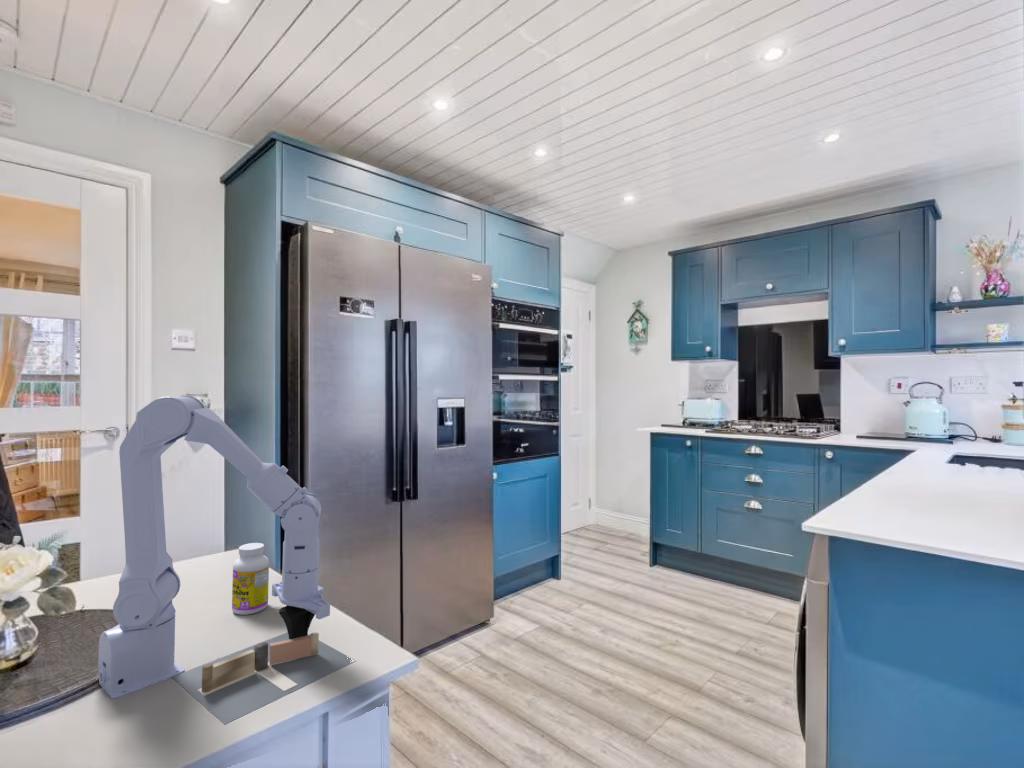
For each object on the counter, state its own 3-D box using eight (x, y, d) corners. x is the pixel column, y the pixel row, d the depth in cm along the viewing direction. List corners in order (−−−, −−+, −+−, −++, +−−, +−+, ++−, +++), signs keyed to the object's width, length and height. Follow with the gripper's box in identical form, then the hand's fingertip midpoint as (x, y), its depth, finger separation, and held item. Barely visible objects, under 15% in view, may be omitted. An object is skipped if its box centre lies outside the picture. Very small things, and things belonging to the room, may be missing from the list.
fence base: (205, 695, 77) (205, 670, 77) (199, 690, 78) (199, 665, 78) (270, 667, 85) (270, 645, 85) (263, 663, 86) (264, 641, 86)
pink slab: (270, 665, 84) (270, 645, 84) (269, 661, 86) (269, 641, 86) (319, 654, 88) (319, 635, 88) (317, 650, 89) (317, 631, 89)
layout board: (224, 727, 70) (224, 723, 70) (171, 679, 81) (171, 676, 81) (356, 663, 87) (356, 660, 87) (297, 630, 98) (297, 628, 98)
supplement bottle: (224, 611, 106) (225, 547, 106) (254, 599, 111) (255, 539, 111) (245, 618, 102) (247, 553, 102) (275, 606, 108) (276, 544, 108)
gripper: (347, 571, 87) (344, 653, 87) (299, 552, 96) (296, 626, 96) (308, 583, 82) (305, 670, 82) (261, 562, 90) (258, 641, 90)
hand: (298, 648), depth 89 cm, fingers closed, pressing on pink slab
